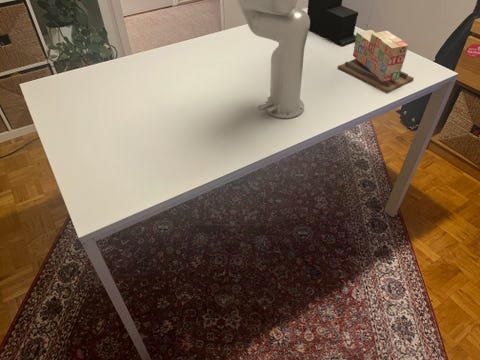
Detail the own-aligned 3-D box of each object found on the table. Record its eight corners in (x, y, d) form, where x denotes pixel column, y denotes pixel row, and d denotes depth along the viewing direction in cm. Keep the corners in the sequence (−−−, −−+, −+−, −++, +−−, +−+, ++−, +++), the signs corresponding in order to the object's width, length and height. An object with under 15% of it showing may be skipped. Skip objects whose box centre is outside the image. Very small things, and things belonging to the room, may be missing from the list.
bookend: (360, 40, 156) (371, -20, 140) (341, 47, 152) (351, -15, 136) (323, 23, 171) (329, -33, 155) (305, 29, 167) (309, -28, 151)
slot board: (386, 93, 125) (388, 86, 123) (337, 68, 139) (338, 62, 137) (413, 80, 131) (415, 74, 129) (363, 57, 145) (364, 51, 143)
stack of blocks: (352, 56, 141) (357, 23, 132) (366, 53, 142) (373, 20, 133) (383, 82, 126) (391, 47, 117) (399, 79, 127) (409, 44, 118)
